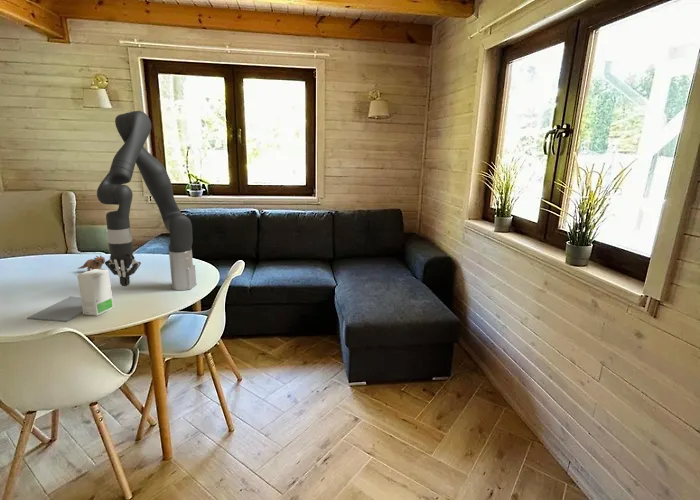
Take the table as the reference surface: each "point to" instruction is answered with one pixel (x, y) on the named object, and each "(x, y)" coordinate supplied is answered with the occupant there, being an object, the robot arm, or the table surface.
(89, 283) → the skincare box
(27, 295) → the table surface
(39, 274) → the table surface
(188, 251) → the robot arm
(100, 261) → the dinosaur figurine
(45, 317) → the slate mat
